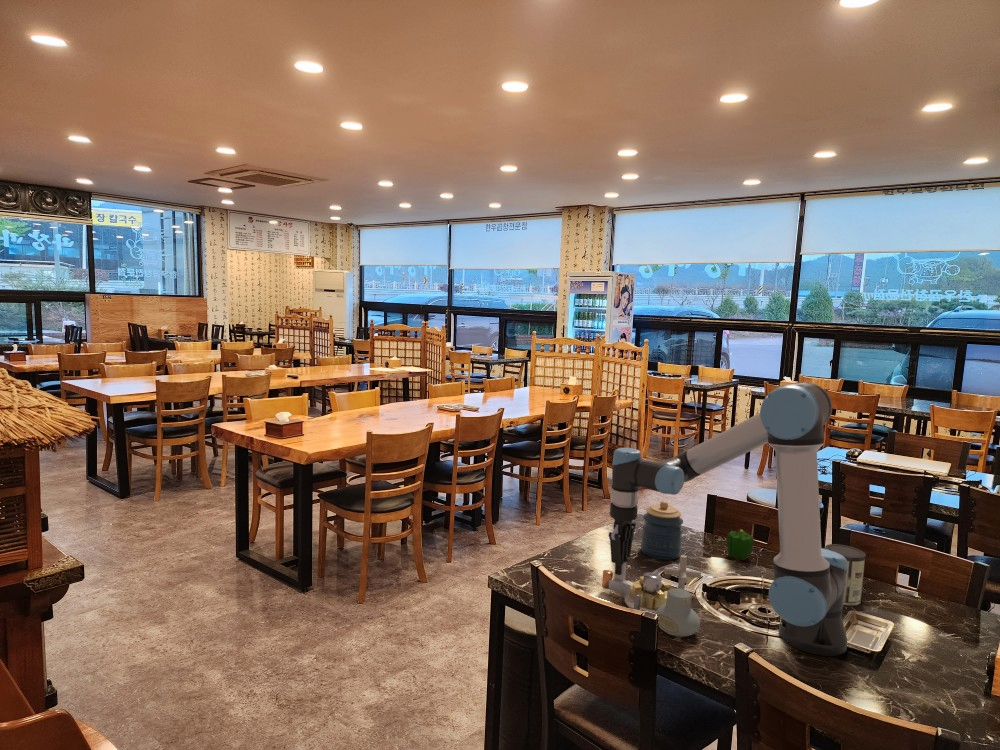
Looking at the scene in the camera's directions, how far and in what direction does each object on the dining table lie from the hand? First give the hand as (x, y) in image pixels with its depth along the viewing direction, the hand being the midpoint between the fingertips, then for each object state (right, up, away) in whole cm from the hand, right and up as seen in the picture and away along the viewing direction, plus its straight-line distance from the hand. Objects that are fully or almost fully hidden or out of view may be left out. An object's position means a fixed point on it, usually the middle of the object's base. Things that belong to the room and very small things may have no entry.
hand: (619, 584), depth 174 cm
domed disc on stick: (+4, -2, -4) cm, 6 cm away
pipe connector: (+19, -3, +4) cm, 19 cm away
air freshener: (+10, -5, -20) cm, 23 cm away
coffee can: (+65, -5, +4) cm, 65 cm away
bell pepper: (+45, -2, +30) cm, 55 cm away
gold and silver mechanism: (+4, -4, -8) cm, 10 cm away
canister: (+20, 0, +31) cm, 37 cm away
